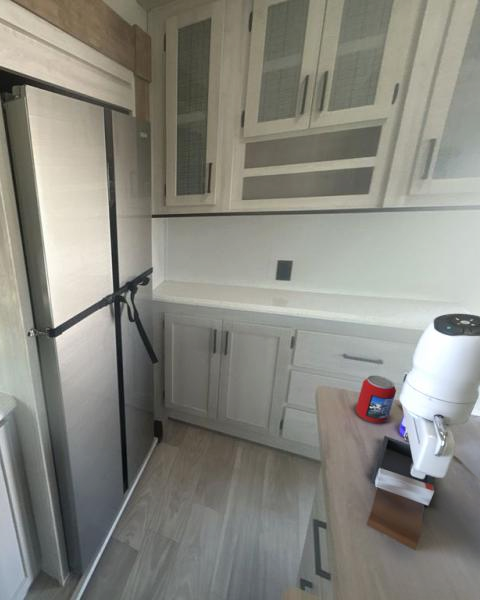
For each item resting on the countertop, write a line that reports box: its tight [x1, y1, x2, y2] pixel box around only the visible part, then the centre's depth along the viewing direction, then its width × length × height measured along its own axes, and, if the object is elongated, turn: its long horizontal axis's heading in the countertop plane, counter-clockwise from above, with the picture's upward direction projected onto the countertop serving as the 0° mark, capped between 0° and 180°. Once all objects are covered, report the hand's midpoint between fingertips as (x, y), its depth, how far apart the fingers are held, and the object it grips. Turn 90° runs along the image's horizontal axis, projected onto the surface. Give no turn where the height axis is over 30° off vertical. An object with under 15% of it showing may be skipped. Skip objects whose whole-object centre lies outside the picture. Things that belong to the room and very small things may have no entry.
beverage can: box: [355, 375, 397, 424], centre depth 90 cm, size 7×7×12 cm
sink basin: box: [370, 435, 435, 509], centre depth 75 cm, size 14×9×4 cm, turn 133°
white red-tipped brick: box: [374, 468, 435, 506], centre depth 67 cm, size 8×2×4 cm, turn 53°
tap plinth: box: [366, 486, 425, 551], centre depth 67 cm, size 11×7×4 cm, turn 133°
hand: (412, 457), depth 65 cm, fingers open, 8 cm apart
